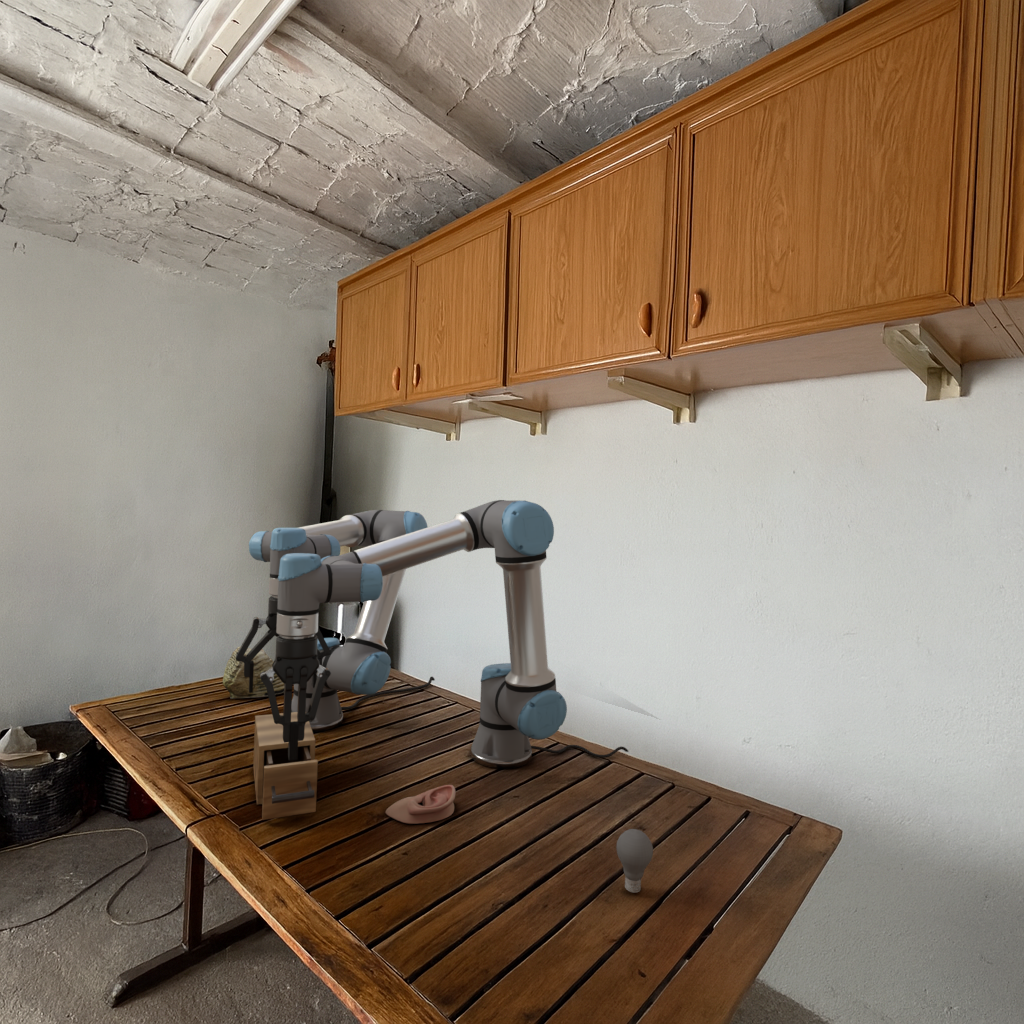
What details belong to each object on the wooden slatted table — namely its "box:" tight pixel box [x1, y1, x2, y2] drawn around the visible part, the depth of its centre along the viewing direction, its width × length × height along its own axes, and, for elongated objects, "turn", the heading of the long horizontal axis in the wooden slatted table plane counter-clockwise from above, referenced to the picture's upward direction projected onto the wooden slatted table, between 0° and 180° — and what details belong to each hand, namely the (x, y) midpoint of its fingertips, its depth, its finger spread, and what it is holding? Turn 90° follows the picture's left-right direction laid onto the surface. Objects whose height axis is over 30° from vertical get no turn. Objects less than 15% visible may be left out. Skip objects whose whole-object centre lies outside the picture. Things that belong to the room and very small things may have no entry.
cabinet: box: [252, 712, 316, 805], centre depth 140 cm, size 19×11×12 cm, turn 24°
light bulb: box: [615, 828, 654, 894], centre depth 106 cm, size 6×6×10 cm
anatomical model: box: [385, 784, 456, 825], centre depth 129 cm, size 13×4×12 cm
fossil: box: [222, 646, 284, 699], centre depth 198 cm, size 9×18×15 cm, turn 132°
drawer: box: [261, 746, 319, 821], centre depth 129 cm, size 23×10×10 cm, turn 24°
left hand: (282, 688), depth 144 cm, fingers open, 13 cm apart
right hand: (292, 757), depth 121 cm, fingers closed
